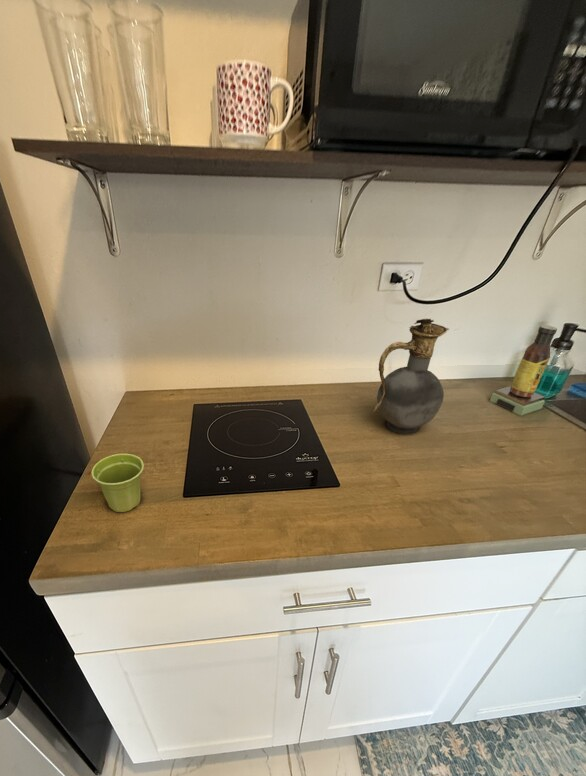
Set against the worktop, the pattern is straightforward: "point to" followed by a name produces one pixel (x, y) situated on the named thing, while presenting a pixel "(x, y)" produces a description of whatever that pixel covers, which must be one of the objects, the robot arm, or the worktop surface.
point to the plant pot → (120, 480)
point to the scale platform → (520, 400)
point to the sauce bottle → (533, 363)
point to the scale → (516, 405)
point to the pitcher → (411, 382)
